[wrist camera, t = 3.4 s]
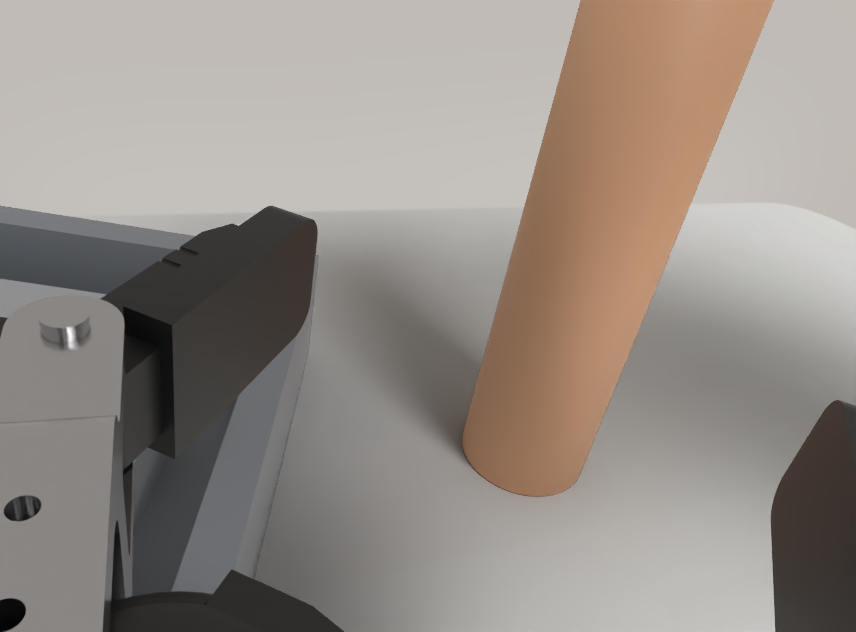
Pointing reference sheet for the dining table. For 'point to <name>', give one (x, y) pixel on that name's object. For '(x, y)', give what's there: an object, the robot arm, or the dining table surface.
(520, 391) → the peg
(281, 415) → the box
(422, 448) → the dining table surface
